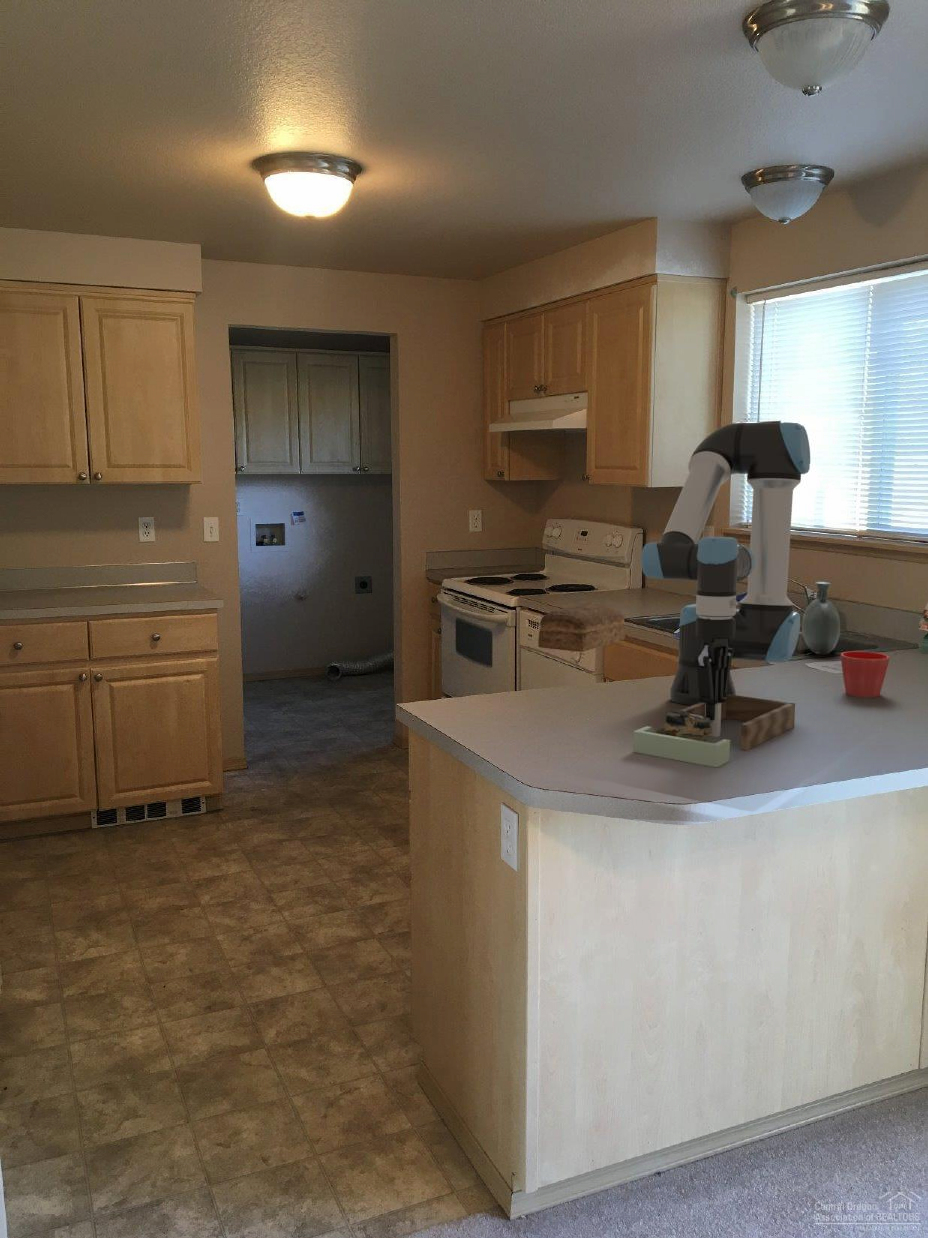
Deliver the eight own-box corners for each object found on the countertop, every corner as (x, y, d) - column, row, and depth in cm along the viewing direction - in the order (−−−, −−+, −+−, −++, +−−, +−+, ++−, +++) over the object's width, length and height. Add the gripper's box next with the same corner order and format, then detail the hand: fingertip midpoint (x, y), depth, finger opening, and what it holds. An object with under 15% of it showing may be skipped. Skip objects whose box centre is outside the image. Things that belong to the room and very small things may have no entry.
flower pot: (891, 699, 238) (893, 659, 237) (842, 697, 241) (844, 657, 239) (882, 690, 249) (884, 651, 247) (835, 689, 251) (837, 650, 250)
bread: (628, 643, 324) (629, 602, 322) (581, 656, 299) (581, 612, 298) (582, 638, 334) (582, 599, 332) (532, 651, 309) (533, 608, 307)
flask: (846, 653, 304) (849, 580, 301) (833, 661, 289) (836, 585, 286) (806, 649, 310) (809, 578, 307) (792, 657, 296) (795, 583, 293)
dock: (717, 767, 181) (717, 745, 181) (632, 751, 192) (633, 731, 192) (729, 761, 185) (730, 740, 185) (646, 746, 196) (646, 726, 196)
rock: (651, 741, 197) (653, 712, 197) (682, 736, 203) (684, 708, 202) (686, 749, 190) (688, 719, 190) (717, 744, 196) (719, 715, 196)
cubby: (746, 750, 193) (747, 725, 192) (671, 737, 203) (672, 713, 202) (794, 726, 212) (795, 703, 211) (723, 716, 222) (724, 693, 221)
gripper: (719, 621, 188) (715, 744, 191) (747, 614, 198) (743, 731, 201) (682, 618, 193) (679, 738, 196) (712, 611, 203) (708, 726, 206)
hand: (712, 735), depth 199 cm, fingers closed
